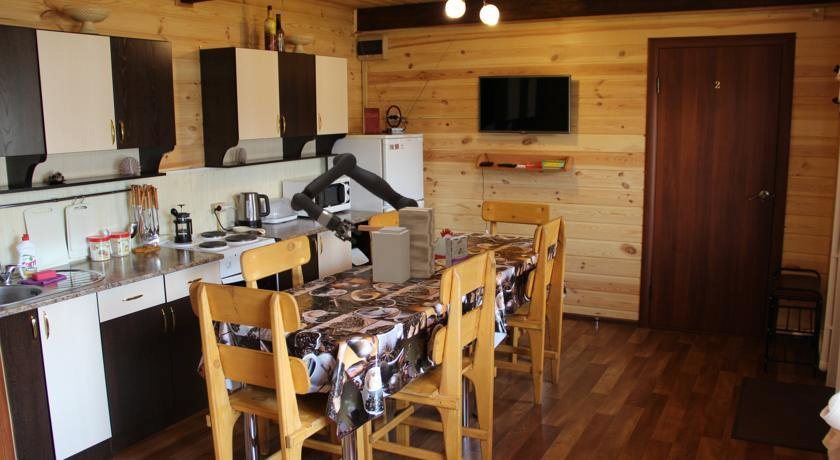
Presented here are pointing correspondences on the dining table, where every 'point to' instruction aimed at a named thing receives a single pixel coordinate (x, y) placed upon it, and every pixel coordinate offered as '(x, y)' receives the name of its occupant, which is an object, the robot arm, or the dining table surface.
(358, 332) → the dining table surface
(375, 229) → the turner
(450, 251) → the candy bar box
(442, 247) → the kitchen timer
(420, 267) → the tall stand
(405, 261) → the grey upright block
